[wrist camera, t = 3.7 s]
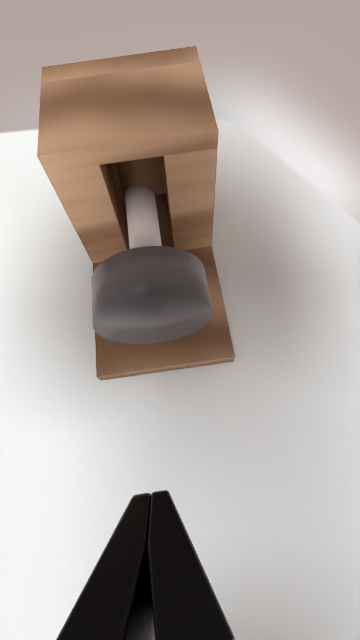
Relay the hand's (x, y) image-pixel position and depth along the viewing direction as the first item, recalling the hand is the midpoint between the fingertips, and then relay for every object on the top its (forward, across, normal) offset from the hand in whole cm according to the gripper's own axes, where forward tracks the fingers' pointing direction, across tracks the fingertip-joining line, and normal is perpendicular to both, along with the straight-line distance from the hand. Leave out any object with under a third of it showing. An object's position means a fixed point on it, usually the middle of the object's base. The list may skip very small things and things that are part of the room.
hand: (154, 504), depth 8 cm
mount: (+20, 0, -1) cm, 20 cm away
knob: (+15, 0, -2) cm, 15 cm away
